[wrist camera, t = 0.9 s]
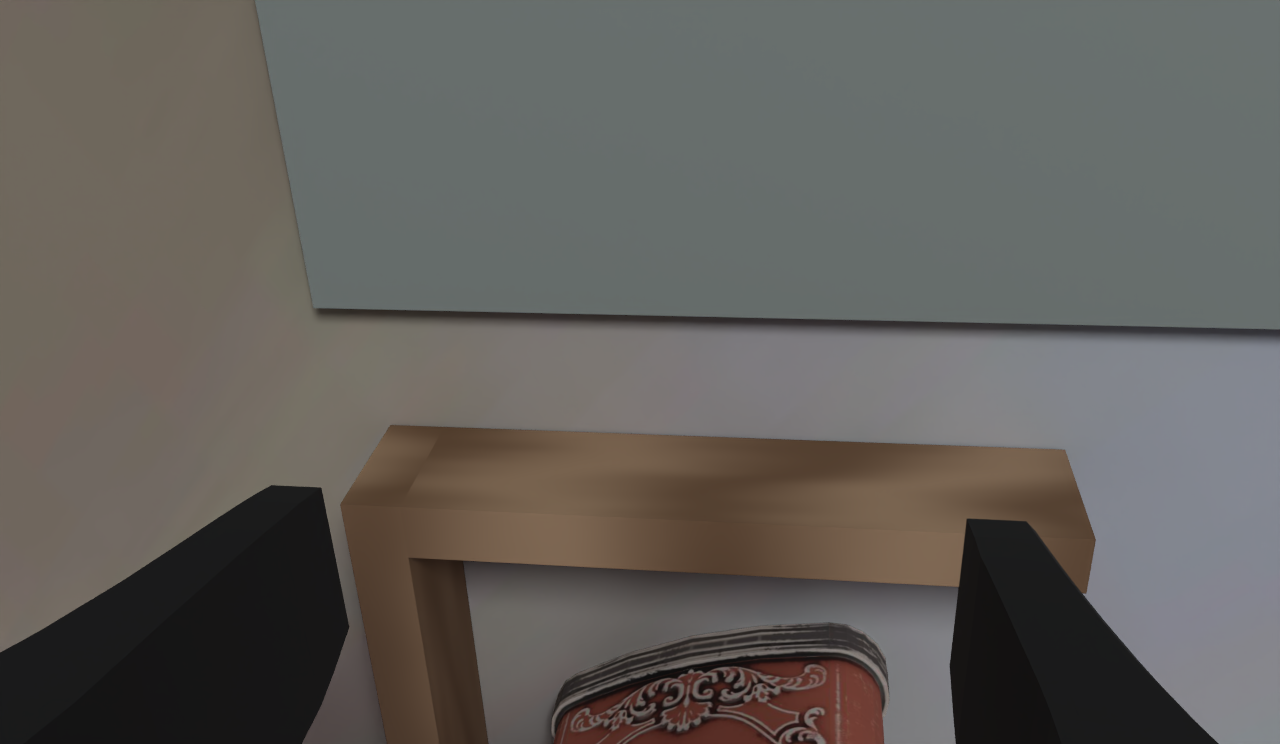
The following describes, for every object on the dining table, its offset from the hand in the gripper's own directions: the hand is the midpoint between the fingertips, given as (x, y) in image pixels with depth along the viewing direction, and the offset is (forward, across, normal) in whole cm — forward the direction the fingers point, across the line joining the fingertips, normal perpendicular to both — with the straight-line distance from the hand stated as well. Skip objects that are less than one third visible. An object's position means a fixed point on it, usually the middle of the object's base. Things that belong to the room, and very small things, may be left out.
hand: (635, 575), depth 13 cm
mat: (+10, -2, -3) cm, 11 cm away
